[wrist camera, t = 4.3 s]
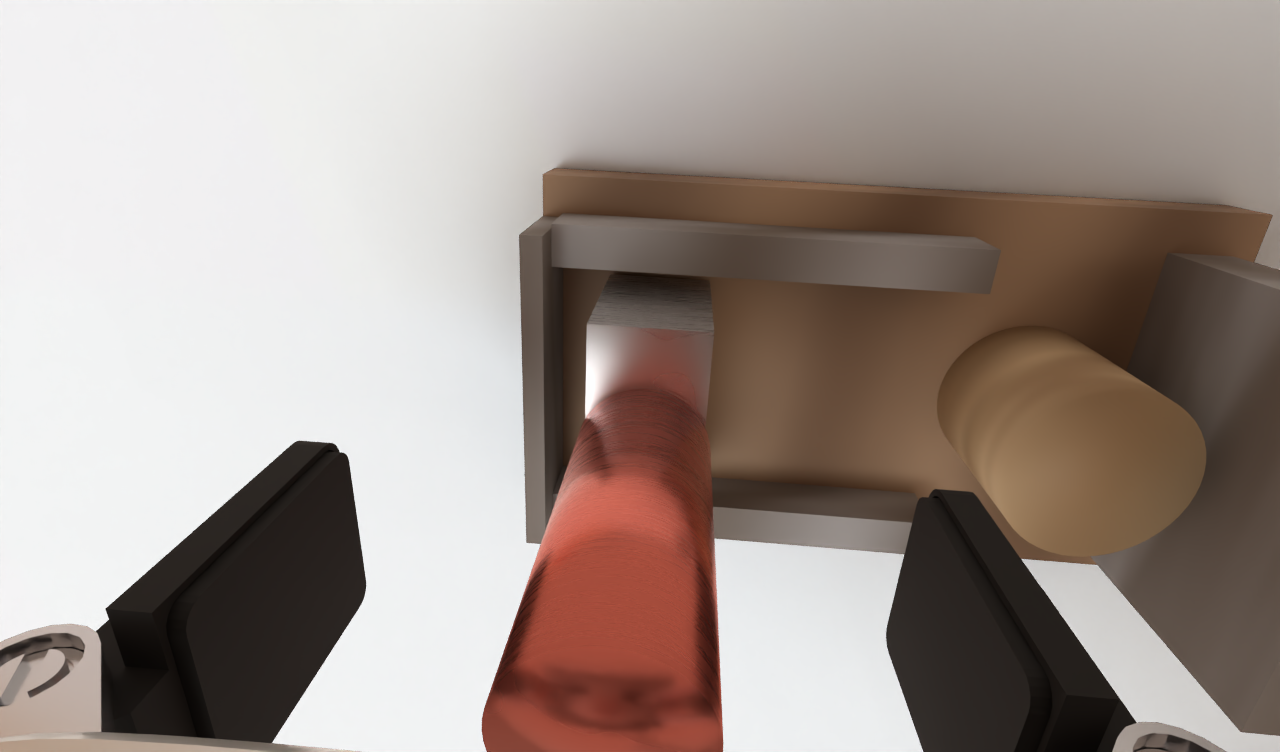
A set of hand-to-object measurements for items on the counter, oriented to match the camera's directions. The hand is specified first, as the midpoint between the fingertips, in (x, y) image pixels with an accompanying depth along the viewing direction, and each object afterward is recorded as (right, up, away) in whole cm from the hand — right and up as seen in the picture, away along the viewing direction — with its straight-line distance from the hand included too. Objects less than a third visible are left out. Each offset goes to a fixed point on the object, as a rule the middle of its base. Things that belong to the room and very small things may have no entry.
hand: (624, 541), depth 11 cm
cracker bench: (+6, +3, +8) cm, 11 cm away
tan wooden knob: (+10, +2, +7) cm, 12 cm away
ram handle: (+1, +3, +7) cm, 7 cm away
